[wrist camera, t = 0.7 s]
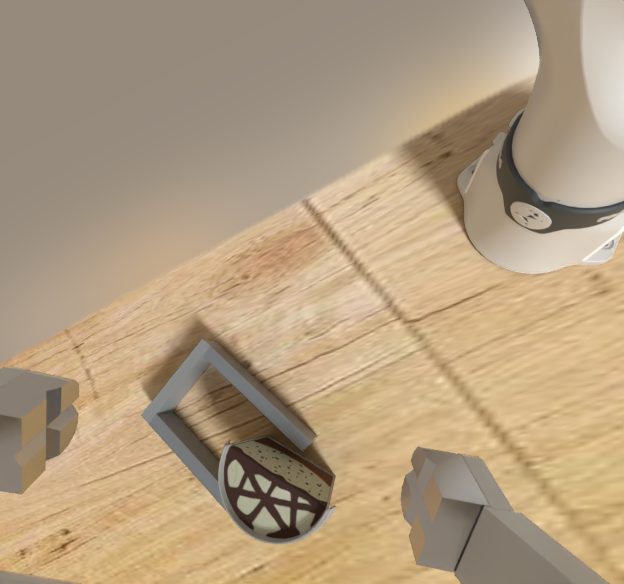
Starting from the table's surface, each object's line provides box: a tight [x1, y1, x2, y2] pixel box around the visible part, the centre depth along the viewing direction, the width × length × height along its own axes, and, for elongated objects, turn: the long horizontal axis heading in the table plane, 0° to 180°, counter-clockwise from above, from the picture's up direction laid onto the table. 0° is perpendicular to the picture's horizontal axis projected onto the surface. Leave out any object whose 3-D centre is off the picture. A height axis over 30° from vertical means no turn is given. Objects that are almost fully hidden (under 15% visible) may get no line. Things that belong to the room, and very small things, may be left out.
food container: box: [218, 435, 336, 544], centre depth 39 cm, size 12×6×10 cm, turn 64°
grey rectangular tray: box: [141, 339, 317, 511], centre depth 45 cm, size 12×18×4 cm, turn 51°
